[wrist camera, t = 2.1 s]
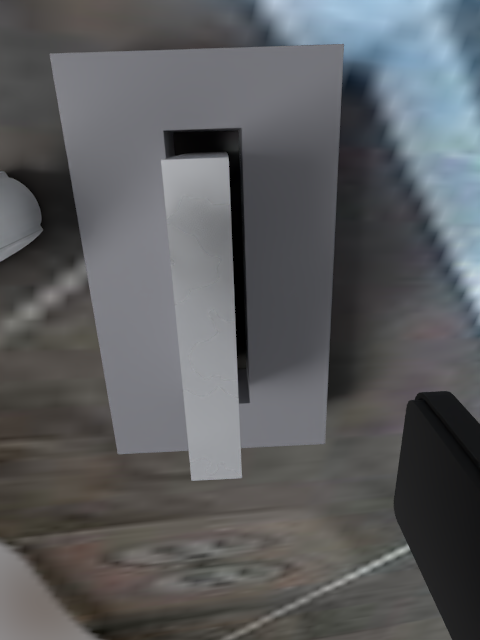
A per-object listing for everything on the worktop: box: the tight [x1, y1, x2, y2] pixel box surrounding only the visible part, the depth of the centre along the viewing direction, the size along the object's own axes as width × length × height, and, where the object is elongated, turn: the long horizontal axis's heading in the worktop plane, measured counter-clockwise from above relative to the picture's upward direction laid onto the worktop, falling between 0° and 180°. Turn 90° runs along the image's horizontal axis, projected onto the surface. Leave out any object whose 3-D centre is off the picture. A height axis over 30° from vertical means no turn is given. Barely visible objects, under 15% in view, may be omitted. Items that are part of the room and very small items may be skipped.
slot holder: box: [50, 44, 344, 454], centre depth 23 cm, size 12×20×4 cm, turn 2°
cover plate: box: [161, 151, 242, 481], centre depth 20 cm, size 2×12×11 cm, turn 2°
